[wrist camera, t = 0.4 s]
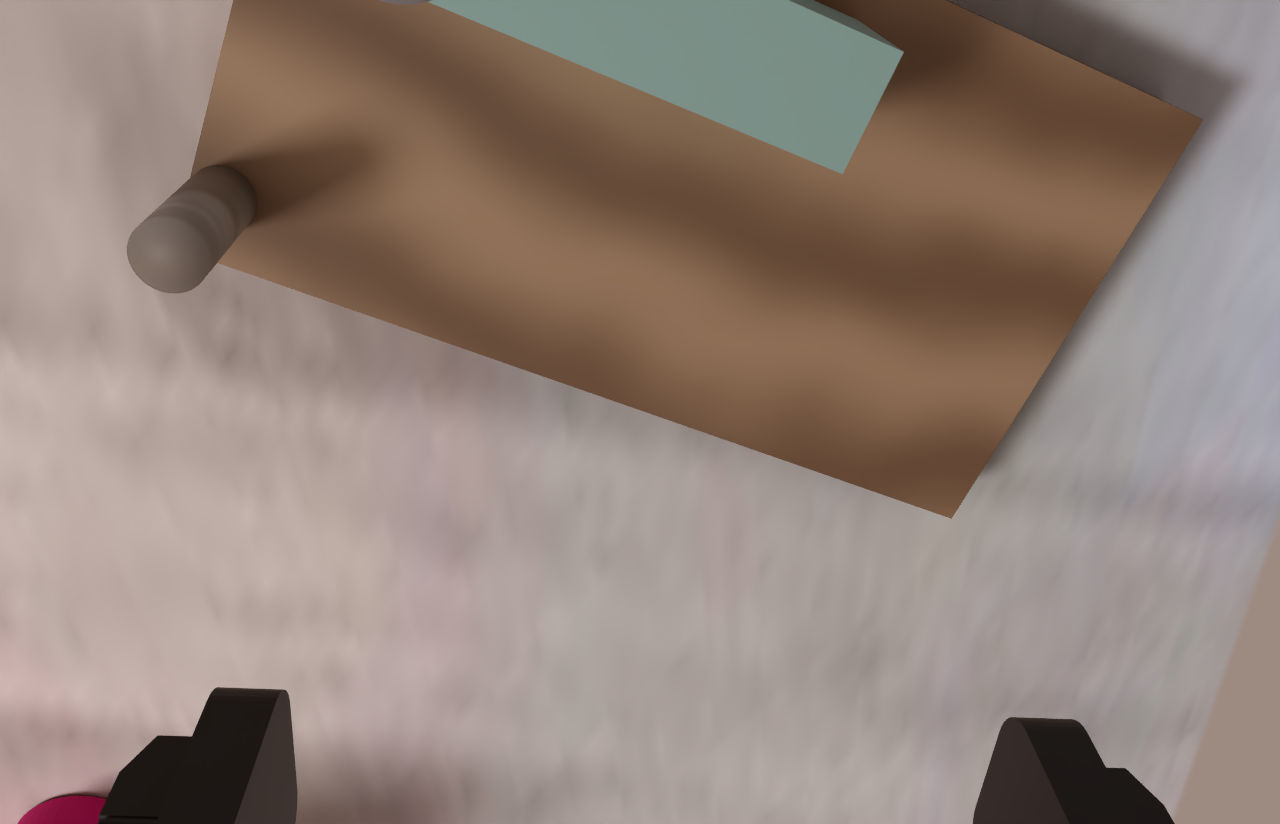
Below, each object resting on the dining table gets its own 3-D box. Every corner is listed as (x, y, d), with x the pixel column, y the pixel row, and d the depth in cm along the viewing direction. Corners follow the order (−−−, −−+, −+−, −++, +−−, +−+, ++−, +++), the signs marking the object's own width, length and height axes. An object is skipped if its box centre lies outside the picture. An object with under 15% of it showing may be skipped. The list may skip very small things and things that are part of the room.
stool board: (326, -289, 30) (254, -321, 23) (1164, 101, 36) (1298, 164, 29) (197, 221, 36) (112, 311, 29) (931, 481, 42) (998, 606, 35)
